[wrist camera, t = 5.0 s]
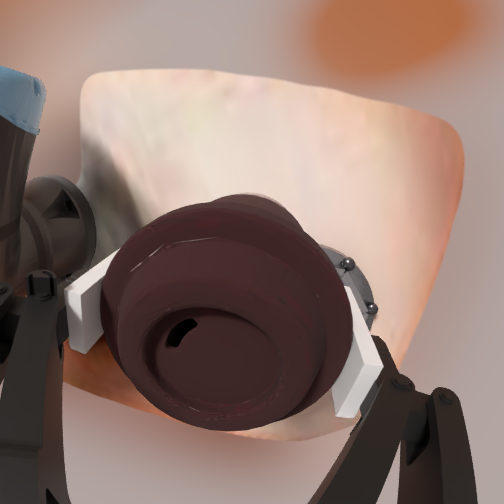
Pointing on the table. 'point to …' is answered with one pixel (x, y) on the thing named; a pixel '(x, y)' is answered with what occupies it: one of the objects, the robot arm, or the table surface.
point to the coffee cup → (227, 314)
